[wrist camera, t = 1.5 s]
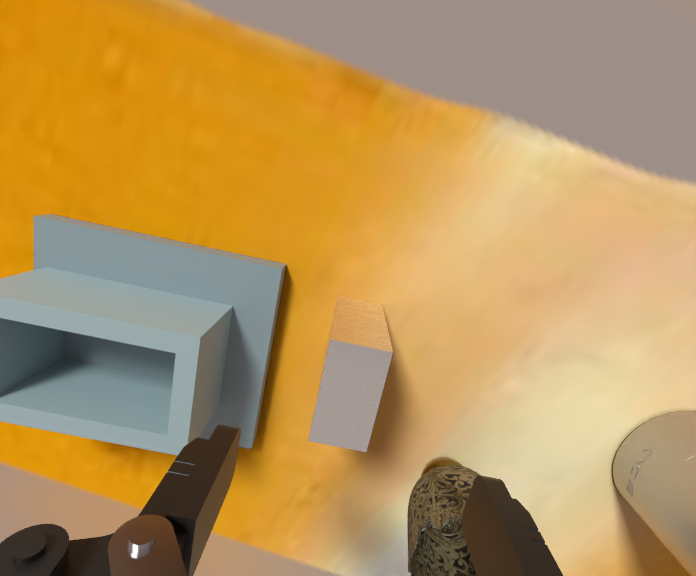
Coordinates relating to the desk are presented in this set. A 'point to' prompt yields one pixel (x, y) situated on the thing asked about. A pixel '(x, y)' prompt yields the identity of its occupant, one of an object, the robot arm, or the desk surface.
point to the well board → (135, 337)
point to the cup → (439, 520)
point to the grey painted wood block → (352, 375)
